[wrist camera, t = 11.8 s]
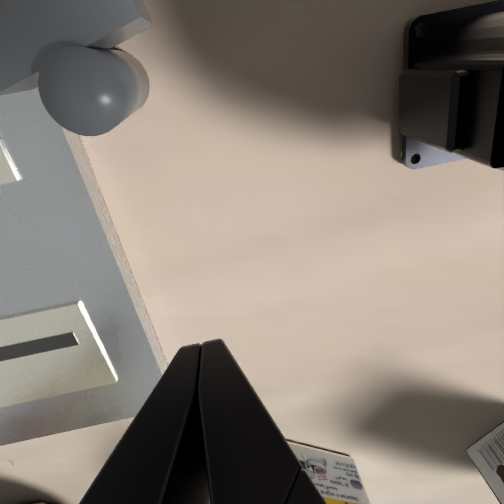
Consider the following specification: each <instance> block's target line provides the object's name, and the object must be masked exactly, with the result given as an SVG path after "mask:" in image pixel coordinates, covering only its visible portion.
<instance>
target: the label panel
mask: <svg viewBox="0 0 504 504" xmlns="http://www.w3.org/2000/svg"><path fill="white" fill-rule="evenodd" d="M167 367H168V364H167V362H166V359H165V356H164V354H163V351H162V349H161V346H160V344H159V341H158V338H157V336H156V333H155V331H154V328H153V326H152V323H151V320H150V318H149V315H148V313H147V310H146V308H145V305H144V302H143V300H142V297H141V295H140V292H139V289H138V287H137V284H136V282H135V279H134V277H133V274H132V271H131V269H130V266H129V264H128V261H127V259H126V256H125V253H124V251H123V248H122V246H121V243H120V241H119V238H118V235H117V233H116V230H115V228H114V225H113V223H112V220H111V217H110V215H109V212H108V210H107V207H106V204H105V202H104V199H103V197H102V194H101V192H100V189H99V186H98V184H97V181H96V179H95V176H94V174H93V171H92V168H91V166H90V163H89V161H88V158H87V156H86V153H85V150H84V148H83V145H82V143H81V140H80V137H79V135H78V134H75V133H73V132H70V131H69V130H67V129H65V128H63V127H62V126H61V125H59V124H58V123H57V122H56V121H55V120H54V119H53V118H52V117H51V116H50V115H49V113H48V112H47V110H46V109H45V107H44V105H43V103H42V101H41V98H40V94H39V90H38V87H37V88H35V89H33V90H28V91H22V92H17V93H11V94H6V95H0V446H2V445H6V444H11V443H15V442H20V441H25V440H29V439H34V438H38V437H43V436H48V435H52V434H57V433H62V432H66V431H71V430H75V429H80V428H85V427H89V426H94V425H98V424H103V423H108V422H112V421H117V420H121V419H126V418H131V417H135V416H136V415H137V413H138V412H139V410H140V409H141V407H142V406H143V404H144V403H145V401H146V400H147V398H148V396H149V395H150V393H151V392H152V390H153V389H154V387H155V386H156V384H157V383H158V381H159V380H160V378H161V376H162V375H163V373H164V372H165V370H166V369H167Z"/></svg>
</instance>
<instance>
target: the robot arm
mask: <svg viewBox="0 0 504 504" xmlns="http://www.w3.org/2000/svg"><path fill="white" fill-rule="evenodd" d="M417 24H419V25H420V26H421V29H422V30H421V33H420V34H419V36H416V35H415V27H416V26H417ZM399 132H401V133H402V162H403V164H404V165H405V166H407V167H408V168H411V169H418V168H422V167H427V166H432V165H437V164H442V163H447V162H451V161H456V160H461V159H466V158H468V159H470V160H473V161H476V162H478V163H481V164H484V165H486V166H489V167H491V168H498V169H500V170H503V171H504V0H498V1H493V2H488V3H483V4H478V5H473V6H468V7H463V8H458V9H453V10H448V11H443V12H438V13H433V14H428V15H423V16H418V17H415V18H412V19H411V20H410V21H409V22H408V23H407V25H406V27H405V32H404V70H403V72H402V73H401V75H400V77H399ZM414 154H416V155H417V157H416V159H415V160H414V161H413V162H411V157H412V156H413V155H414ZM79 504H327V503H326V501H325V500H324V498H323V497H322V495H321V494H320V492H319V491H318V489H317V488H316V486H315V484H314V483H313V481H312V480H311V478H310V477H309V475H308V473H307V472H306V471H305V470H303V466H302V464H301V463H300V461H299V460H298V458H297V457H296V455H295V453H294V452H293V450H292V449H291V447H290V445H289V444H288V442H287V441H286V439H285V438H284V436H283V434H282V433H281V431H280V430H279V428H278V427H277V425H276V423H275V422H274V420H273V419H272V417H271V415H270V414H269V412H268V411H267V409H266V408H265V406H264V404H263V403H262V401H261V400H260V398H259V397H258V395H257V393H256V392H255V390H254V389H253V387H252V385H251V384H250V382H249V381H248V379H247V378H246V376H245V374H244V373H243V371H242V370H241V368H240V367H239V365H238V363H237V362H236V360H235V359H234V357H233V355H232V354H231V352H230V351H229V349H228V348H227V346H226V344H225V343H224V341H223V340H222V339H215V340H211V341H206V342H204V343H203V344H202V345H201V344H199V343H197V344H192V345H187V346H183V347H181V348H180V349H179V350H178V352H177V353H176V355H175V356H174V358H173V360H172V361H171V363H170V364H169V366H168V367H167V369H166V370H165V372H164V373H163V375H162V376H161V378H160V380H159V381H158V383H157V384H156V386H155V387H154V389H153V390H152V392H151V393H150V395H149V396H148V398H147V400H146V401H145V403H144V404H143V406H142V407H141V409H140V410H139V412H138V413H137V415H136V417H135V418H134V420H133V421H132V423H131V424H130V426H129V427H128V429H127V430H126V432H125V433H124V435H123V437H122V438H121V440H120V441H119V443H118V444H117V446H116V447H115V449H114V450H113V452H112V453H111V455H110V457H109V458H108V460H107V461H106V463H105V464H104V466H103V467H102V469H101V470H100V472H99V474H98V475H97V477H96V478H95V480H94V481H93V483H92V484H91V486H90V487H89V489H88V490H87V492H86V494H85V495H84V497H83V498H82V500H81V501H80V503H79Z"/></svg>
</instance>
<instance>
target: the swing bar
mask: <svg viewBox="0 0 504 504" xmlns="http://www.w3.org/2000/svg"><path fill="white" fill-rule="evenodd" d="M152 26H154V24H153V22H152V20H151V17H150V15H149V13H148V11H147V9H146V7H145V5H144V3H143V1H142V0H0V95H6V94H11V93H17V92H22V91H28V90H33V89H35V88H37V87H38V90H39V94H40V98H41V101H42V103H43V105H44V107H45V109H46V110H47V112H48V113H49V115H50V116H51V117H52V118H53V119H54V120H55V121H56V122H57V123H58V124H59V125H61V126H62V127H63V128H65V129H67V130H69V131H70V132H73V133H75V134H79V135H84V136H97V135H101V134H104V133H106V132H108V131H110V130H112V129H113V128H114V127H115V126H117V125H118V124H119V123H121V122H122V121H123V120H125V119H126V118H127V117H129V116H130V115H131V114H133V113H134V112H135V111H137V110H138V109H139V108H140V107H141V106H142V105H143V104H144V103H145V101H146V99H147V97H148V94H149V79H148V76H147V73H146V71H145V69H144V67H143V66H142V64H141V63H140V62H139V61H138V60H137V59H136V58H135V57H133V56H132V55H130V54H128V53H126V52H123V51H119V50H110V48H112V47H114V46H116V45H118V44H120V43H122V42H124V41H126V40H127V39H129V38H131V37H133V36H135V35H137V34H139V33H141V32H143V31H144V30H146V29H148V28H150V27H152Z"/></svg>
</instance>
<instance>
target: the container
mask: <svg viewBox="0 0 504 504" xmlns="http://www.w3.org/2000/svg"><path fill="white" fill-rule="evenodd" d="M287 442H288V444H289V445H290V447H291V449H292V450H293V452H294V453H295V455H296V457H297V458H298V460H299V461H300V463H301V464H302V466H303V470H305V471H306V472H307V473H308V475H309V477H310V478H311V480H312V481H313V483H314V484H315V486H316V488H317V489H318V491H319V492H320V494H321V495H322V497H323V498H324V500H325V501H326V503H327V504H370V501H369V499H368V496H367V493H366V491H365V488H364V485H363V483H362V480H361V477H360V474H359V472H358V469H357V466H356V464H355V461H354V459H353V458H352V457H349V456H345V455H341V454H337V453H333V452H329V451H325V450H321V449H317V448H313V447H309V446H305V445H301V444H297V443H293V442H289V441H287Z"/></svg>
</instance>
